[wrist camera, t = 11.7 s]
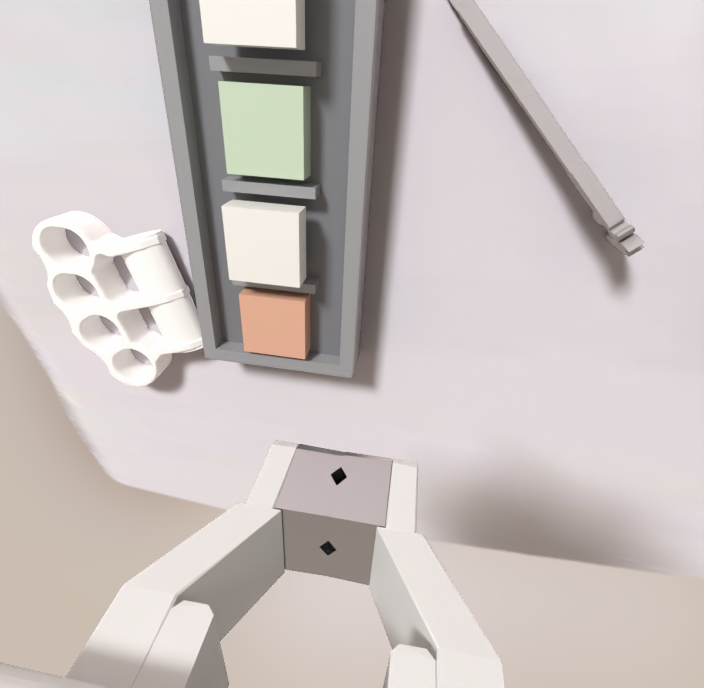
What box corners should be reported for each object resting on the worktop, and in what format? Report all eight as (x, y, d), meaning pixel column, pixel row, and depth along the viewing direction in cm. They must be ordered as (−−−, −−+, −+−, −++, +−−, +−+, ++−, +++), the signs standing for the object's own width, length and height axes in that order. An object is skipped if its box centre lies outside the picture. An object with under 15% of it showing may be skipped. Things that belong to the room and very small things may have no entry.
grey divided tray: (391, -94, 25) (384, -126, 22) (359, 353, 42) (352, 380, 39) (171, -98, 27) (128, -128, 23) (224, 336, 44) (205, 359, 40)
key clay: (310, 292, 36) (304, 302, 35) (310, 347, 39) (305, 359, 37) (247, 284, 37) (238, 294, 35) (252, 339, 40) (244, 351, 38)
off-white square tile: (305, 206, 31) (298, 213, 29) (306, 277, 34) (299, 287, 32) (232, 199, 32) (221, 206, 30) (239, 270, 35) (229, 279, 33)
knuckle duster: (228, 360, 46) (117, 374, 50) (152, 190, 37) (25, 222, 41) (215, 378, 43) (98, 392, 47) (129, 198, 35) (-5, 233, 38)
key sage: (310, 86, 28) (303, 86, 27) (310, 175, 31) (303, 180, 30) (230, 81, 29) (218, 81, 27) (237, 168, 32) (227, 173, 30)
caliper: (620, 230, 33) (657, 258, 28) (605, 239, 33) (639, 268, 28) (459, -18, 27) (466, -44, 22) (444, -2, 28) (447, -24, 22)
